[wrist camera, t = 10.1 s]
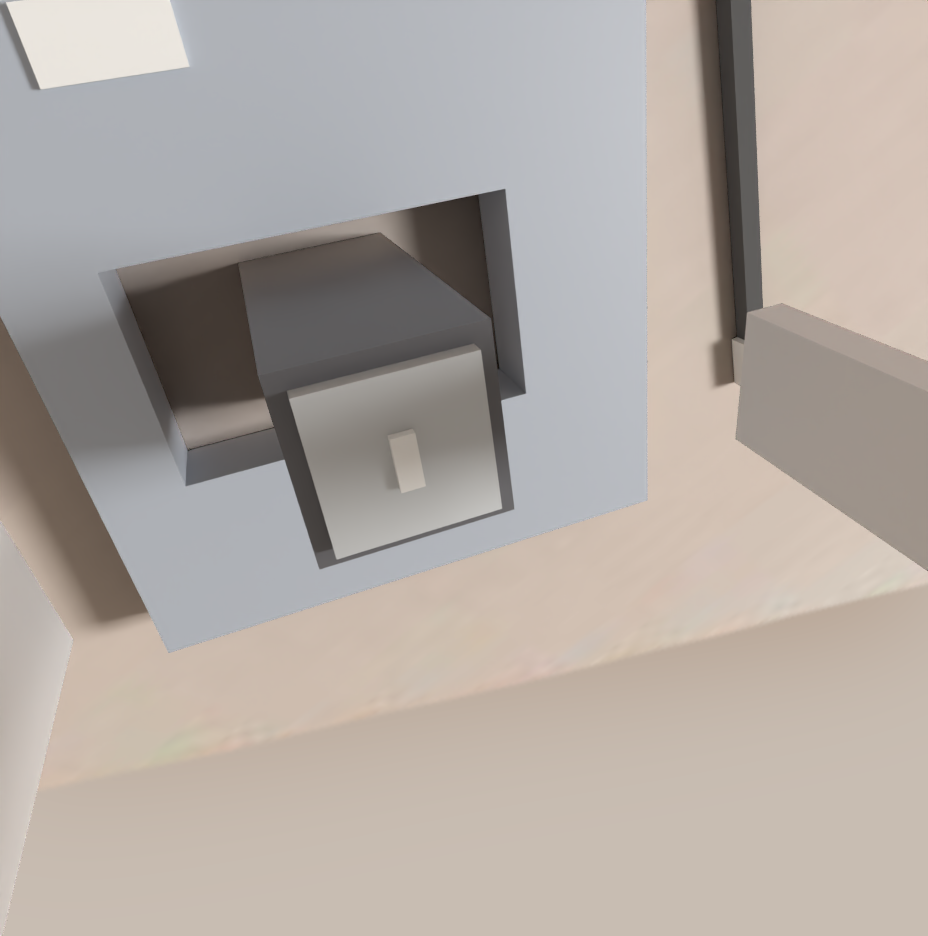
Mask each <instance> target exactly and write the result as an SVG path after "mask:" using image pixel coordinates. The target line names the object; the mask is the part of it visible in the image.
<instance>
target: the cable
mask: <svg viewBox="0 0 928 936" xmlns="http://www.w3.org/2000/svg"><path fill="white" fill-rule="evenodd" d="M716 6H717V22H718V38H719V54H720V70H721V86H722V102H723V118H724V134H725V150H726V166H727V183H728V199H729V215H730V231H731V247H732V263H733V279H734V295H735V311H736V327H737V337H736V338H733V339H732V351H733V366H734V381H735V383H736V384H738V385H741V374H742V363H743V352H744V341H745V330H746V319H747V312H751V311H754V310H758V309H762V308H763V299H762V273H761V248H760V222H759V197H758V171H757V146H756V120H755V95H754V69H753V44H752V19H751V0H716Z"/></svg>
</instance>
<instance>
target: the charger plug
mask: <svg viewBox="0 0 928 936" xmlns="http://www.w3.org/2000/svg"><path fill="white" fill-rule="evenodd" d="M238 265H239V271H240V277H241V282H242V288H243V294H244V299H245V305H246V311H247V316H248V322H249V328H250V333H251V339H252V345H253V350H254V356H255V362H256V367H257V373H258V378H259V381H260V384H261V387H262V390H263V393H264V396H265V400H266V403H267V406H268V409H269V412H270V415H271V419H272V422H273V425H274V428H275V431H276V434H277V438H278V441H279V444H280V447H281V450H282V453H283V456H284V460H285V463H286V466H287V469H288V472H289V475H290V479H291V482H292V485H293V488H294V491H295V494H296V498H297V501H298V504H299V507H300V510H301V513H302V516H303V520H304V523H305V526H306V529H307V532H308V535H309V539H310V542H311V545H312V548H313V551H314V554H315V557H316V561H317V564H318V567H319V570H320V569H323V568H326V567H330V566H333V565H336V564H339V563H343V562H346V561H349V560H352V559H356V558H359V557H362V556H365V555H368V554H372V553H375V552H378V551H381V550H385V549H388V548H391V547H394V546H398V545H401V544H404V543H407V542H411V541H414V540H417V539H420V538H423V537H427V536H430V535H433V534H436V533H440V532H443V531H446V530H449V529H453V528H456V527H459V526H462V525H466V524H469V523H472V522H475V521H478V520H482V519H485V518H488V517H491V516H495V515H498V514H501V513H504V512H508V511H511V510H514V501H513V492H512V484H511V476H510V468H509V460H508V452H507V444H506V436H505V428H504V419H503V411H502V403H501V395H500V387H499V379H498V371H497V363H496V355H495V346H494V338H493V330H492V322H491V318H490V317H488V316H487V315H486V314H485V313H483V312H482V311H481V310H479V309H478V308H477V307H476V306H474V305H473V304H472V303H470V302H469V301H468V300H467V299H465V298H464V297H463V296H461V295H460V294H459V293H458V292H456V291H455V290H454V289H452V288H451V287H450V286H449V285H447V284H446V283H445V282H443V281H442V280H441V279H440V278H438V277H437V276H436V275H434V274H433V273H432V272H431V271H429V270H428V269H427V268H425V267H424V266H423V265H422V264H420V263H419V262H418V261H416V260H415V259H414V258H413V257H411V256H410V255H409V254H407V253H406V252H405V251H404V250H402V249H401V248H400V247H398V246H397V245H396V244H394V243H393V242H392V241H391V240H389V239H388V238H387V237H385V236H384V235H383V234H382V233H376V234H372V235H367V236H362V237H357V238H353V239H348V240H343V241H339V242H334V243H329V244H324V245H320V246H315V247H310V248H306V249H301V250H296V251H291V252H287V253H282V254H277V255H273V256H268V257H263V258H258V259H254V260H249V261H244V262H240V263H238Z"/></svg>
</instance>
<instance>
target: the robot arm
mask: <svg viewBox="0 0 928 936" xmlns="http://www.w3.org/2000/svg"><path fill="white" fill-rule="evenodd" d="M736 440H738V441H739V442H741V443H742V444H744V445H745V446H747V447H748V448H750V449H751V450H752V451H754V452H755V453H757V454H758V455H760V456H761V457H763V458H764V459H765V460H767V461H768V462H770V463H771V464H773V465H774V466H776V467H777V468H779V469H780V470H781V471H783V472H784V473H786V474H787V475H789V476H790V477H792V478H793V479H795V480H796V481H797V482H799V483H800V484H802V485H803V486H805V487H806V488H808V489H809V490H811V491H812V492H813V493H815V494H816V495H818V496H819V497H821V498H822V499H824V500H825V501H827V502H828V503H829V504H831V505H832V506H834V507H835V508H837V509H838V510H840V511H841V512H843V513H844V514H845V515H847V516H848V517H850V518H851V519H853V520H854V521H856V522H857V523H859V524H860V525H861V526H863V527H864V528H866V529H867V530H869V531H870V532H872V533H873V534H874V535H876V536H877V537H879V538H880V539H882V540H883V541H885V542H886V543H888V544H889V545H890V546H892V547H893V548H895V549H896V550H898V551H899V552H901V553H902V554H904V555H905V556H906V557H908V558H909V559H911V560H912V561H914V562H915V563H917V564H918V565H920V566H921V567H922V568H924V569H925V570H927V571H928V361H926V360H924V359H921V358H919V357H916V356H914V355H911V354H909V353H906V352H903V351H901V350H898V349H896V348H893V347H891V346H888V345H886V344H883V343H881V342H878V341H876V340H873V339H871V338H868V337H866V336H863V335H861V334H858V333H855V332H853V331H850V330H848V329H845V328H843V327H840V326H838V325H835V324H833V323H830V322H828V321H825V320H823V319H820V318H818V317H815V316H813V315H810V314H808V313H805V312H802V311H800V310H797V309H795V308H792V307H790V306H787V305H785V304H782V303H781V304H777V305H773V306H770V307H766V308H762V309H758V310H754V311H751V312H747V319H746V330H745V341H744V352H743V363H742V374H741V385H740V396H739V407H738V418H737V429H736ZM72 644H73V638H72V636H71V635H70V633H69V632H68V630H67V628H66V627H65V625H64V623H63V622H62V620H61V618H60V617H59V615H58V614H57V612H56V610H55V609H54V607H53V605H52V604H51V602H50V600H49V599H48V597H47V595H46V594H45V592H44V591H43V589H42V587H41V586H40V584H39V582H38V581H37V579H36V577H35V576H34V574H33V573H32V571H31V569H30V568H29V566H28V564H27V563H26V561H25V559H24V558H23V556H22V554H21V553H20V551H19V550H18V548H17V546H16V545H15V543H14V541H13V540H12V538H11V536H10V535H9V533H8V532H7V530H6V528H5V527H4V525H3V523H2V522H1V520H0V936H3V931H4V927H5V923H6V919H7V915H8V910H9V906H10V902H11V898H12V894H13V889H14V886H15V881H16V877H17V873H18V869H19V865H20V861H21V856H22V852H23V848H24V844H25V840H26V836H27V831H28V827H29V823H30V819H31V815H32V811H33V806H34V802H35V798H36V794H37V790H38V786H39V781H40V777H41V773H42V769H43V765H44V761H45V756H46V752H47V748H48V744H49V740H50V736H51V731H52V727H53V723H54V719H55V715H56V711H57V706H58V702H59V698H60V694H61V690H62V686H63V681H64V677H65V673H66V669H67V665H68V661H69V656H70V652H71V648H72Z"/></svg>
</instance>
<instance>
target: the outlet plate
mask: <svg viewBox="0 0 928 936" xmlns="http://www.w3.org/2000/svg"><path fill="white" fill-rule="evenodd" d="M477 194H478V196H479V204H480V213H481V221H482V229H483V237H484V246H485V254H486V262H487V270H488V279H489V287H490V295H491V303H492V312H493V320H494V328H495V336H496V344H497V353H498V361H499V369H497V371H498V379H499V387H500V395H501V403H502V411H503V419H504V428H505V436H506V444H507V452H508V460H509V468H510V476H511V484H512V492H513V501H514V510H511V511H508V512H504V513H501V514H498V515H495V516H491V517H488V518H485V519H482V520H478V521H475V522H472V523H469V524H466V525H462V526H459V527H456V528H453V529H449V530H446V531H443V532H440V533H436V534H433V535H430V536H427V537H423V538H420V539H417V540H414V541H411V542H407V543H404V544H401V545H398V546H394V547H391V548H388V549H385V550H381V551H378V552H375V553H372V554H368V555H365V556H362V557H359V558H356V559H352V560H349V561H346V562H343V563H339V564H336V565H333V566H330V567H326V568H323V569H320V570H319V567H318V564H317V561H316V557H315V554H314V551H313V548H312V545H311V542H310V539H309V535H308V532H307V529H306V526H305V523H304V520H303V516H302V513H301V510H300V507H299V504H298V501H297V498H296V494H295V491H294V488H293V485H292V482H291V479H290V475H289V472H288V469H287V466H286V463H285V460H284V456H283V453H282V450H281V447H280V444H279V441H278V438H277V434H276V431H275V428H272V429H268V430H264V431H260V432H257V433H253V434H249V435H245V436H241V437H238V438H234V439H230V440H226V441H222V442H219V443H215V444H211V445H207V446H203V447H199V448H196V449H192V450H187V447H186V445H185V442H184V440H183V437H182V435H181V432H180V430H179V427H178V425H177V422H176V420H175V417H174V415H173V412H172V410H171V407H170V405H169V402H168V400H167V397H166V395H165V392H164V390H163V387H162V384H161V382H160V379H159V377H158V374H157V372H156V369H155V367H154V364H153V362H152V359H151V357H150V354H149V352H148V349H147V347H146V344H145V342H144V339H143V337H142V334H141V332H140V329H139V327H138V324H137V322H136V319H135V317H134V314H133V311H132V309H131V306H130V304H129V301H128V299H127V296H126V294H125V291H124V289H123V286H122V284H121V281H120V279H119V276H118V274H117V271H116V269H118V268H123V267H128V266H133V265H138V264H142V263H147V262H152V261H157V260H162V259H167V258H172V257H176V256H181V255H186V254H191V253H196V252H201V251H205V250H210V249H215V248H220V247H225V246H230V245H235V244H239V243H244V242H249V241H254V240H259V239H264V238H269V237H273V236H278V235H283V234H288V233H293V232H298V231H302V230H307V229H312V228H317V227H322V226H327V225H332V224H336V223H341V222H346V221H351V220H356V219H361V218H366V217H370V216H375V215H380V214H385V213H390V212H395V211H400V210H404V209H409V208H414V207H419V206H424V205H429V204H433V203H438V202H443V201H448V200H453V199H458V198H463V197H467V196H472V195H477ZM0 317H1V319H2V321H3V323H4V325H5V327H6V329H7V331H8V333H9V335H10V337H11V339H12V341H13V343H14V345H15V347H16V349H17V351H18V353H19V355H20V357H21V359H22V361H23V363H24V365H25V367H26V369H27V371H28V373H29V375H30V377H31V379H32V381H33V383H34V385H35V387H36V389H37V391H38V393H39V395H40V397H41V399H42V401H43V403H44V405H45V407H46V409H47V411H48V413H49V415H50V417H51V419H52V421H53V423H54V425H55V427H56V429H57V431H58V433H59V435H60V437H61V439H62V441H63V443H64V445H65V447H66V449H67V451H68V453H69V455H70V457H71V459H72V461H73V463H74V465H75V467H76V469H77V471H78V473H79V475H80V477H81V479H82V481H83V483H84V485H85V487H86V489H87V491H88V493H89V495H90V497H91V499H92V501H93V503H94V505H95V507H96V509H97V511H98V513H99V515H100V517H101V519H102V521H103V523H104V525H105V527H106V529H107V531H108V533H109V535H110V537H111V539H112V541H113V543H114V545H115V547H116V549H117V551H118V553H119V555H120V557H121V559H122V561H123V563H124V565H125V567H126V569H127V571H128V573H129V575H130V577H131V579H132V581H133V583H134V585H135V587H136V589H137V591H138V593H139V595H140V597H141V599H142V601H143V603H144V605H145V607H146V609H147V610H148V612H149V614H150V616H151V618H152V620H153V622H154V624H155V626H156V628H157V630H158V632H159V634H160V636H161V638H162V640H163V642H164V644H165V646H166V648H167V650H168V652H169V653H170V652H174V651H177V650H180V649H183V648H186V647H189V646H192V645H195V644H199V643H202V642H205V641H208V640H211V639H214V638H217V637H221V636H224V635H227V634H230V633H233V632H236V631H239V630H242V629H246V628H249V627H252V626H255V625H258V624H261V623H264V622H268V621H271V620H274V619H277V618H280V617H283V616H286V615H289V614H293V613H296V612H299V611H302V610H305V609H308V608H311V607H315V606H318V605H321V604H324V603H327V602H330V601H333V600H336V599H340V598H343V597H346V596H349V595H352V594H355V593H358V592H362V591H365V590H368V589H371V588H374V587H377V586H380V585H383V584H387V583H390V582H393V581H396V580H399V579H402V578H405V577H409V576H412V575H415V574H418V573H421V572H424V571H427V570H430V569H434V568H437V567H440V566H443V565H446V564H449V563H452V562H456V561H459V560H462V559H465V558H468V557H471V556H474V555H477V554H481V553H484V552H487V551H490V550H493V549H496V548H499V547H503V546H506V545H509V544H512V543H515V542H518V541H521V540H524V539H528V538H531V537H534V536H537V535H540V534H543V533H546V532H550V531H553V530H556V529H559V528H562V527H565V526H568V525H571V524H575V523H578V522H581V521H584V520H587V519H590V518H593V517H597V516H600V515H603V514H606V513H609V512H612V511H615V510H618V509H622V508H625V507H628V506H631V505H634V504H637V503H640V502H644V501H647V500H648V498H647V148H646V0H0Z"/></svg>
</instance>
